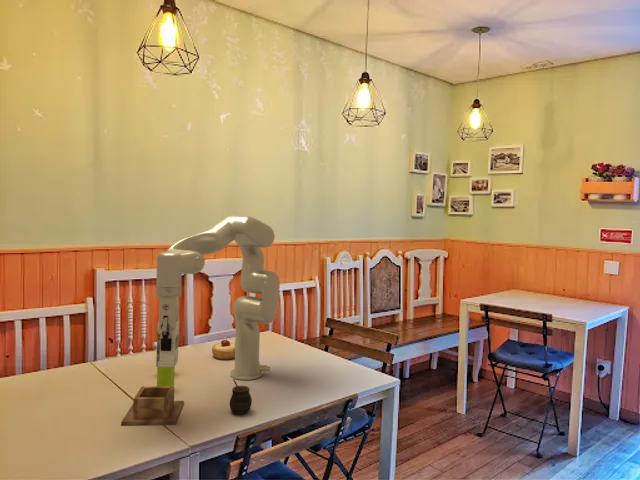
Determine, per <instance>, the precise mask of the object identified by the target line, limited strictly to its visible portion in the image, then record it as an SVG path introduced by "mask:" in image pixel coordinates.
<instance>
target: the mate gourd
mask: <svg viewBox="0 0 640 480" xmlns="http://www.w3.org/2000/svg"><path fill="white" fill-rule="evenodd" d="M232 381H233V382H234V385H235V386H233V387H232V394H231V397H230V399H229V409H230V410H231V412H232V413H233V414H235V415H240V416H241V415H246V414H247V413H248V412H249V411H250V410H251V407H252V396H251V394H250V387H249V386H247V385H238V384H237V381H236V380H235V378H233V379H232Z"/></svg>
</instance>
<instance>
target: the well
mask: <svg viewBox="0 0 640 480" xmlns="http://www.w3.org/2000/svg"><path fill="white" fill-rule="evenodd" d="M132 401H133V403H132V404H131V406H130V408H129V409H128V411H127V412H126V414H125V415H124V417H123V418H122V420H121V422H120V426H156V425H157V426H158V425H159V426H165V425H170V426H171V425H176V424H177V422H178V419H179V417H180V414H181V412H182V409H183V407H184V404H185V401H184V400H175V385H174V386H157V385H156V386H153V385H152V386H141V387H140V388H139V390H138V391H137V393H136V394H135V396H134V397H133V400H132Z"/></svg>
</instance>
